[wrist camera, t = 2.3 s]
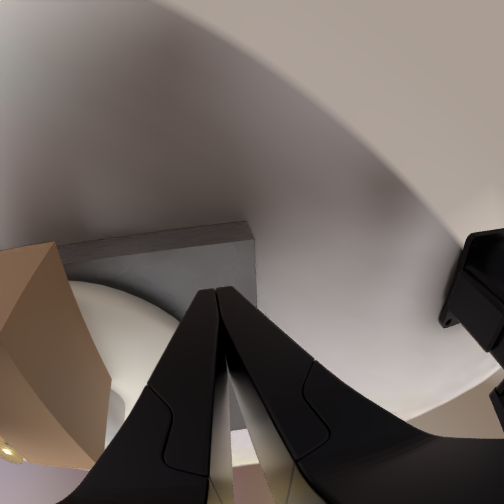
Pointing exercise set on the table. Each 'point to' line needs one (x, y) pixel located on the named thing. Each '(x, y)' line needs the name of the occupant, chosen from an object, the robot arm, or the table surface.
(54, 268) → the flange
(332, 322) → the table surface
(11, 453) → the gold rounded piece
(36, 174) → the table surface
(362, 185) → the table surface
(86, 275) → the base plate
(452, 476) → the robot arm
